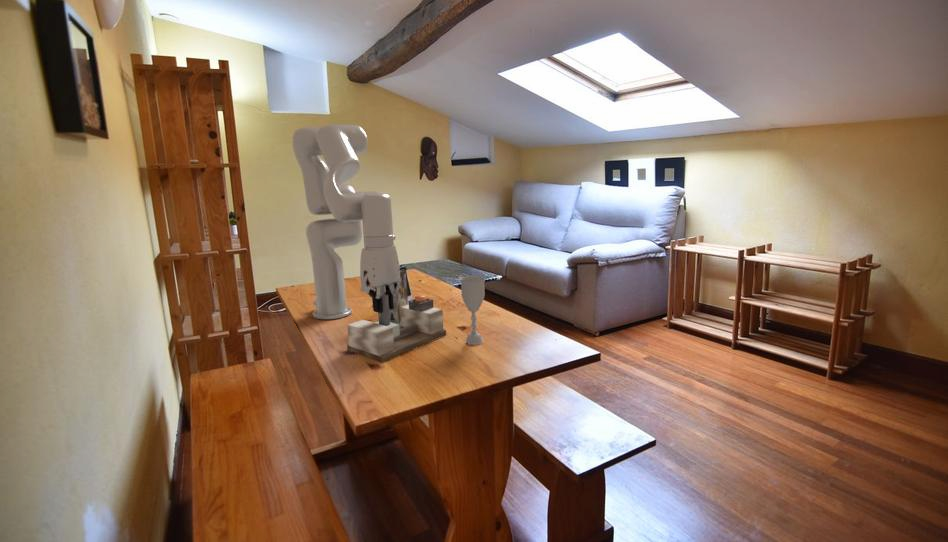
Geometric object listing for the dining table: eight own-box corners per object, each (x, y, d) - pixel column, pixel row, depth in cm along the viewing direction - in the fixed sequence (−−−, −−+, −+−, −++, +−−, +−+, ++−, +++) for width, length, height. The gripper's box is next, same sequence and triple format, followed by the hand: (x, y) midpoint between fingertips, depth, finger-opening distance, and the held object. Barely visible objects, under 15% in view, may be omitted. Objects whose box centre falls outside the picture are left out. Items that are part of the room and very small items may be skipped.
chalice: (490, 338, 137) (489, 276, 133) (483, 347, 131) (481, 282, 127) (466, 336, 139) (464, 274, 135) (457, 344, 133) (455, 280, 129)
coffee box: (390, 317, 158) (387, 269, 155) (409, 318, 157) (406, 269, 153) (379, 326, 149) (376, 275, 146) (399, 327, 148) (396, 276, 145)
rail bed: (347, 350, 131) (344, 315, 129) (411, 326, 149) (410, 294, 147) (382, 362, 122) (379, 324, 120) (446, 335, 141) (444, 301, 138)
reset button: (413, 304, 141) (412, 296, 140) (421, 301, 143) (420, 294, 143) (421, 305, 139) (420, 298, 138) (428, 303, 141) (428, 295, 141)
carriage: (371, 334, 132) (368, 295, 130) (382, 330, 135) (379, 291, 133) (388, 339, 128) (385, 299, 126) (399, 335, 131) (397, 295, 129)
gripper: (392, 236, 135) (396, 300, 139) (343, 245, 122) (349, 315, 126) (411, 238, 130) (415, 305, 134) (362, 248, 118) (368, 320, 122)
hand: (383, 309), depth 130 cm, fingers closed on carriage, 3 cm apart
